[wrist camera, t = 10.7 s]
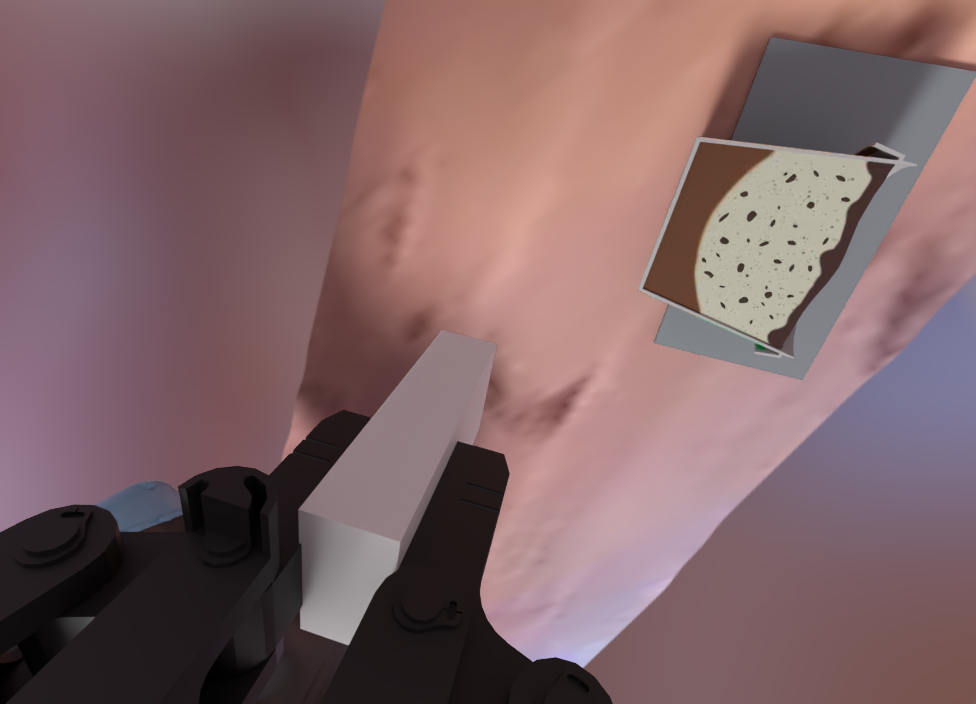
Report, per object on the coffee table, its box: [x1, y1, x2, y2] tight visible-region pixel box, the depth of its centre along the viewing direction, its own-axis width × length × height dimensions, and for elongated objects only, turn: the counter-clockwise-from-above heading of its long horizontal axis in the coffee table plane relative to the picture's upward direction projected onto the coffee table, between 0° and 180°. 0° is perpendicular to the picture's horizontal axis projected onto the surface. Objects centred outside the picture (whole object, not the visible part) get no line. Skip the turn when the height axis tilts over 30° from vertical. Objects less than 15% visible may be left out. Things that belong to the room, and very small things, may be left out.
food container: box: [638, 136, 917, 359], centre depth 29 cm, size 12×6×10 cm
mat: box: [654, 37, 976, 380], centre depth 31 cm, size 11×20×1 cm, turn 170°
